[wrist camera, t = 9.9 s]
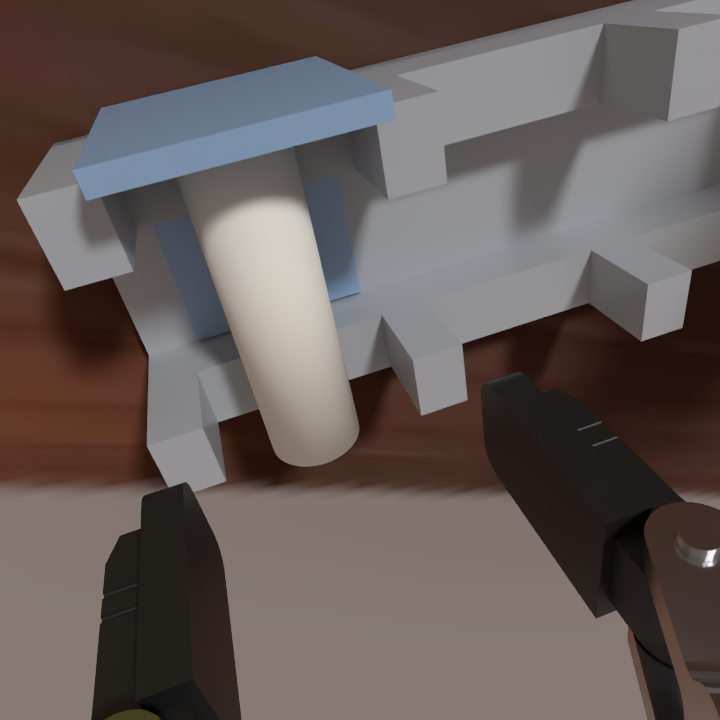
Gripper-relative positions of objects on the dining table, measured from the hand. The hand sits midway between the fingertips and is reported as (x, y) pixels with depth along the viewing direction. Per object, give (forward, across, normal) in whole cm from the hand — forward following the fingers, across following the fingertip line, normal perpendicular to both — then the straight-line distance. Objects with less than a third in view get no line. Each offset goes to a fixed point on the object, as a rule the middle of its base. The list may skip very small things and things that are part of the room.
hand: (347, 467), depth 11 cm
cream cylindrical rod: (+9, 0, 0) cm, 9 cm away
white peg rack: (+11, -8, 0) cm, 14 cm away
